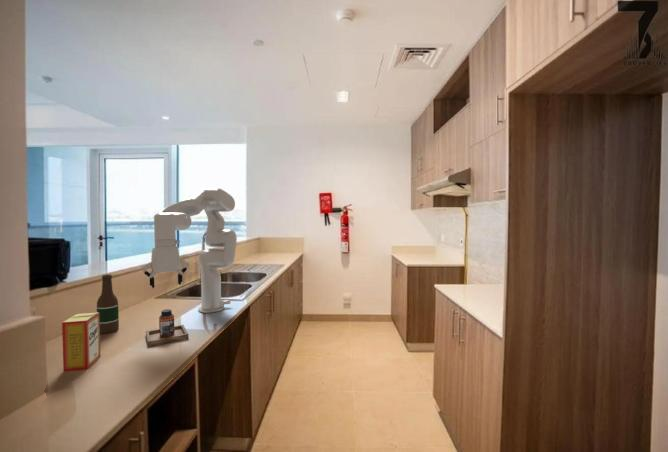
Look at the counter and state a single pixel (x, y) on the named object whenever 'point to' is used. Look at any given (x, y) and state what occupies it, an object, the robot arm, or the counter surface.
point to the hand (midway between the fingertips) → (166, 285)
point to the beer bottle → (108, 307)
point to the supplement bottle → (166, 323)
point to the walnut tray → (155, 338)
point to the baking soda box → (81, 341)
